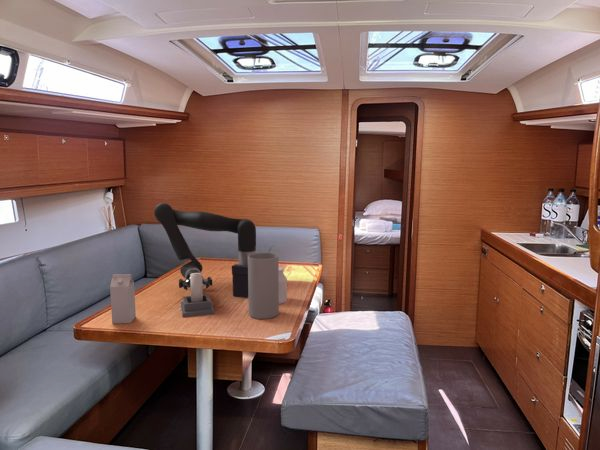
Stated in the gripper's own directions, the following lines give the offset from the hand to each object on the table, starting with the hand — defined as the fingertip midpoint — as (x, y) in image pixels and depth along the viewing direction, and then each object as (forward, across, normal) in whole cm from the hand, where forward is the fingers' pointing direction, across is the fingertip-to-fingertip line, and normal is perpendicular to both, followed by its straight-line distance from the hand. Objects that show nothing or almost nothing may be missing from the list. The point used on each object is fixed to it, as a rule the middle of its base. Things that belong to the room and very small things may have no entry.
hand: (196, 286), depth 186 cm
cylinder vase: (+13, +26, +11) cm, 31 cm away
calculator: (-14, +23, +11) cm, 29 cm away
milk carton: (+3, -29, +11) cm, 31 cm away
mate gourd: (-60, +44, +11) cm, 75 cm away
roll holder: (-2, 0, +10) cm, 11 cm away
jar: (-4, +35, +11) cm, 37 cm away
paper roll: (-2, 0, +9) cm, 9 cm away
